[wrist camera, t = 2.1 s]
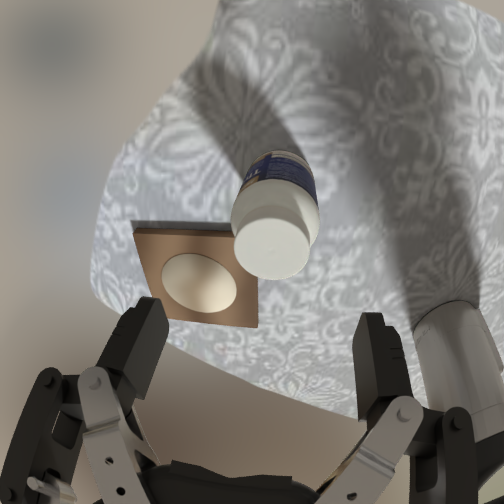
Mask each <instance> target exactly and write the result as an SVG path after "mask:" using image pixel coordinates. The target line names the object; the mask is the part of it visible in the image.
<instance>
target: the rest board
mask: <svg viewBox="0 0 504 504" xmlns="http://www.w3.org/2000/svg"><path fill="white" fill-rule="evenodd" d="M133 237H134V241H135V244H136V247H137V251H138V254H139V258H140V261H141V264H142V267H143V271H144V274H145V277H146V280H147V283H148V286H149V289H150V292H151V295H152V297H153V298H159V299H160V300H161V301H162V304H163V307H164V310H165V313H166V316H167V318H169V319H176V320H183V321H191V322H199V323H208V324H217V325H227V326H237V327H248V328H258V277H256V276H254V275H252V274H251V273H249V272H248V271H246V270H245V269H244V268H243V267H242V266H241V265H240V263H239V262H238V260H237V258H236V256H235V253H234V240H235V236H234V234H233V231H209V230H182V229H151V228H137V229H136V230H135V231H134V232H133Z"/></svg>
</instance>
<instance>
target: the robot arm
mask: <svg viewBox="0 0 504 504" xmlns="http://www.w3.org/2000/svg"><path fill="white" fill-rule="evenodd" d="M168 333H169V322H168V319H167V316H166V313H165V310H164V307H163V304H162V301H161V300H160V299H159V298H153V297H144V296H143V297H141V298H140V299H139V301H138V303H137V305H136V307H135V308H133V307H130V308H129V309H128V310H127V311H126V312H125V313H124V314H123V315H122V316H121V318H120V319H119V321H118V323H117V327H116V328H115V329H114V331H113V333H112V335H111V337H110V339H109V340H108V342H107V345H106V346H105V348H104V350H103V352H102V354H101V356H100V358H99V360H98V362H97V364H96V366H94V367H90V368H87V369H86V370H85V371H83V372H82V373H81V375H62V374H61V373H60V372H59V371H58V369H56V368H53V367H49V368H46V369H44V370H43V371H42V372H40V374H39V375H38V377H37V379H36V381H35V383H34V385H33V388H32V390H31V392H30V395H29V397H28V399H27V402H26V404H25V406H24V409H23V411H22V414H21V416H20V419H19V421H18V424H17V427H16V429H15V432H14V435H13V438H12V440H11V444H10V447H9V450H8V453H7V456H6V459H5V462H4V466H3V469H2V473H1V476H0V501H1V503H2V504H75V502H76V501H77V496H76V494H75V493H74V491H73V489H72V487H71V482H72V478H73V473H74V470H75V466H76V463H77V459H78V456H79V452H80V449H81V446H82V443H83V442H84V446H85V449H86V453H87V456H88V459H89V463H90V466H91V469H92V472H93V475H94V478H95V481H96V484H97V486H98V489H99V492H100V495H101V497H102V499H100V500H98V501H96V502H95V503H93V504H374V503H375V502H376V500H377V499H378V498H379V496H380V495H381V493H382V492H383V491H384V490H385V488H386V486H387V485H388V484H389V482H390V481H391V479H392V478H393V476H394V473H395V470H394V469H395V466H396V465H397V463H398V462H399V460H400V458H401V457H402V455H403V454H404V455H409V456H410V493H409V504H478V491H479V490H480V488H481V487H482V486H483V485H484V484H485V483H486V482H487V481H488V480H489V479H490V478H491V477H492V476H493V475H494V474H495V473H496V472H497V471H498V470H499V469H501V468H502V467H503V466H504V383H503V380H502V377H501V373H502V371H503V369H504V366H503V363H502V360H501V357H500V355H499V352H498V350H497V347H496V345H495V342H494V340H493V337H492V335H491V333H490V330H489V328H488V326H487V324H486V322H485V319H484V317H483V315H482V313H481V311H480V309H474V308H473V306H472V305H471V304H470V303H468V302H465V301H454V302H449V303H446V304H444V305H441V306H439V307H437V308H436V309H434V310H433V311H431V312H429V313H428V314H427V315H426V316H425V317H424V318H423V319H422V320H421V321H420V322H419V323H418V325H417V326H416V328H415V330H414V334H413V339H414V343H415V347H416V351H417V354H418V359H419V363H420V368H421V372H422V376H423V381H424V386H425V391H426V396H427V401H428V406H429V409H427V408H425V407H423V406H421V404H420V403H419V402H418V401H417V400H416V399H415V398H414V396H413V393H412V389H411V384H410V378H409V374H408V369H407V364H406V360H405V355H404V351H403V347H402V342H401V338H400V336H399V334H398V333H397V331H396V330H395V329H394V327H393V326H385V322H384V318H383V315H382V313H378V312H363V313H362V314H361V317H360V320H359V323H358V326H357V328H356V331H355V334H354V337H353V344H352V351H353V360H354V370H355V381H356V393H357V408H358V422H367V430H366V431H365V433H364V434H363V435H362V437H361V438H360V440H359V441H358V442H357V444H356V445H355V446H354V447H353V449H352V450H351V451H350V453H349V454H348V455H347V456H346V458H345V459H344V460H343V461H342V463H341V464H340V465H339V466H338V467H337V468H336V469H335V470H334V471H333V472H332V473H331V474H330V475H329V476H328V478H327V479H326V480H325V481H324V482H323V483H322V484H321V485H320V486H319V488H317V489H316V491H314V490H313V489H311V488H310V487H308V486H306V485H304V484H302V483H299V482H296V481H293V480H292V476H272V475H255V476H246V477H237V478H228V477H225V476H222V475H220V474H217V473H215V472H212V471H210V470H208V469H205V468H203V467H201V466H197V465H192V464H188V463H183V462H179V461H174V460H172V462H171V464H167V465H160V463H159V460H158V459H157V456H156V454H155V453H154V451H153V450H152V448H151V447H150V446H149V444H148V442H147V439H146V437H145V435H144V432H143V430H142V427H141V424H140V422H139V420H138V417H137V414H136V411H135V408H134V406H133V402H134V399H135V398H138V399H142V400H144V399H145V396H146V393H147V390H148V388H149V385H150V382H151V379H152V377H153V374H154V371H155V368H156V366H157V363H158V360H159V358H160V355H161V352H162V350H163V347H164V345H165V342H166V339H167V337H168ZM59 411H60V413H59ZM58 413H59V416H58V419H57V421H56V418H57V415H58ZM55 421H56V424H55V427H54V430H53V433H52V429H53V426H54V423H55ZM484 504H504V496H501V497H499V498H497V499H494V500H492V501H489V502H487V503H484Z"/></svg>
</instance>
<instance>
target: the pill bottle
mask: <svg viewBox="0 0 504 504" xmlns="http://www.w3.org/2000/svg"><path fill="white" fill-rule="evenodd" d="M319 225H320V216H319V209H318V202H317V195H316V189H315V181H314V177H313V173H312V171H311V169H310V167H309V165H308V164H307V163H306V162H305V161H304V160H303V159H302V158H301V157H299V156H298V155H296V154H294V153H291V152H287V151H271V152H267V153H265V154H263V155H261V156H260V157H259V158H257V159H256V160H255V161H254V162H253V164H252V165H251V167H250V169H249V170H248V173H247V175H246V177H245V179H244V181H243V184H242V186H241V188H240V191H239V193H238V195H237V198H236V200H235V202H234V205H233V208H232V212H231V227H232V231H233V234H234V236H235V240H234V253H235V256H236V258H237V260H238V262H239V263H240V265H241V266H242V267H243V268H244V269H245V270H246V271H248V272H249V273H251V274H252V275H254V276H256V277H259V278H263V279H268V280H280V279H285V278H289V277H291V276H293V275H295V274H296V273H298V272H299V271H300V270H301V269H302V268H303V267H304V266H305V264H306V262H307V261H308V258H309V253H310V247H311V245H312V244H313V242H314V241H315V239H316V237H317V234H318V231H319Z"/></svg>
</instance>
